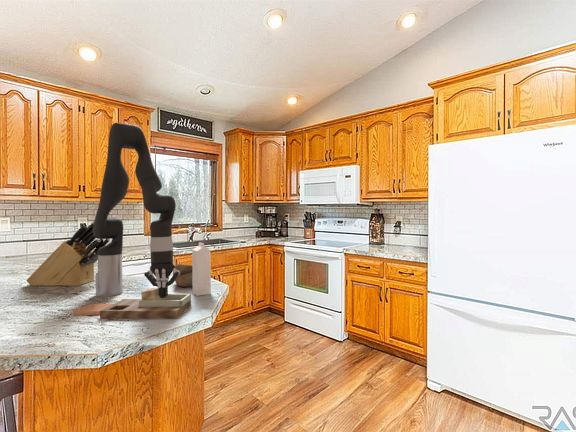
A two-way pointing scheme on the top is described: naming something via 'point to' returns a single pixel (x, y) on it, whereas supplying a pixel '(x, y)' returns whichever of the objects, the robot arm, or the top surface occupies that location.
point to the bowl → (184, 275)
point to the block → (150, 294)
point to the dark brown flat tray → (141, 310)
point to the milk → (201, 270)
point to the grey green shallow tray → (167, 301)
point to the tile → (91, 309)
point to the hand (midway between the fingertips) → (163, 297)
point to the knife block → (70, 261)
